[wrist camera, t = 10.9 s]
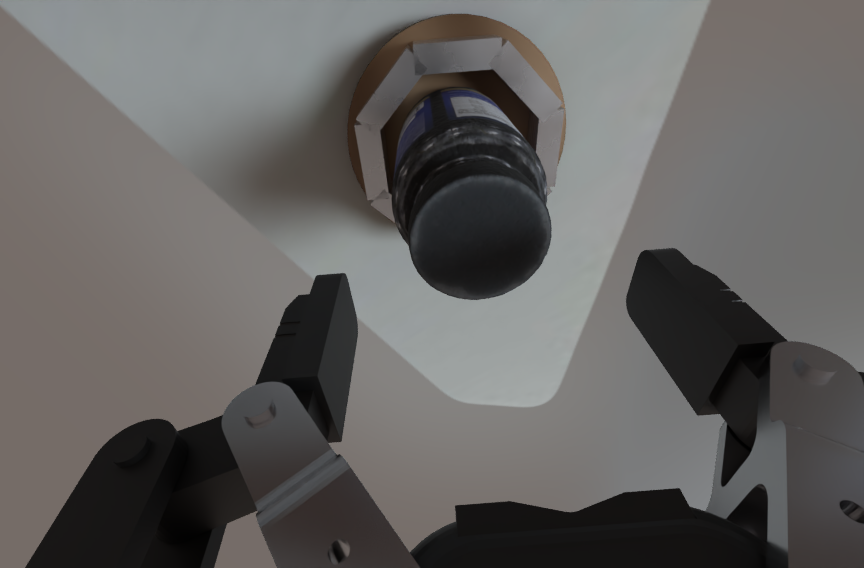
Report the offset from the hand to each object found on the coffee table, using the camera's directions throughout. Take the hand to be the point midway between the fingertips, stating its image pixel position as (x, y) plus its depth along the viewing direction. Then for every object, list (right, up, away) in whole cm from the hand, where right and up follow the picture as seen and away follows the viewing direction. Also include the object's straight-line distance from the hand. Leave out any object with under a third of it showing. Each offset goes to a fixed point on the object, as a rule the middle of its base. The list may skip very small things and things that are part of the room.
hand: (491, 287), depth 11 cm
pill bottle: (0, +8, +11) cm, 13 cm away
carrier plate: (0, +9, +12) cm, 15 cm away
